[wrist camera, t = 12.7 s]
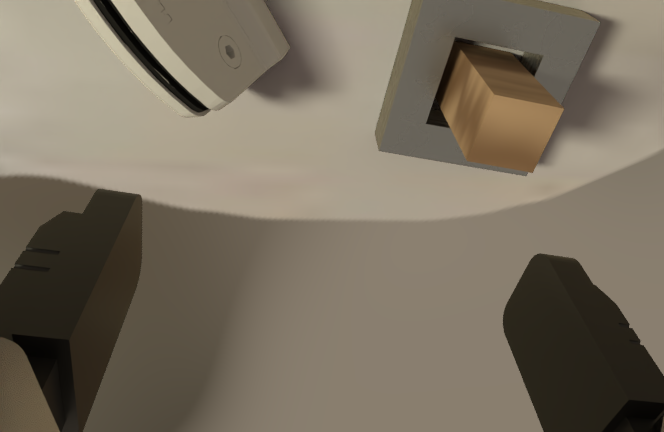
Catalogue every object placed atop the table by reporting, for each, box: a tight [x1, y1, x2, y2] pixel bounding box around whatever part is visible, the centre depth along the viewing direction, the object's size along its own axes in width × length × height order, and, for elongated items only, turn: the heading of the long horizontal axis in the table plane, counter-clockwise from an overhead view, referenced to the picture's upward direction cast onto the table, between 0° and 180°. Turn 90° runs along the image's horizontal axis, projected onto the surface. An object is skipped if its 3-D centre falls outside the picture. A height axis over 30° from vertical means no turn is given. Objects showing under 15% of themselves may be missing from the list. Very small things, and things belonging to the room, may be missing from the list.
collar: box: [375, 0, 601, 176], centre depth 39 cm, size 12×12×3 cm
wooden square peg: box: [435, 40, 564, 173], centre depth 36 cm, size 4×4×10 cm
